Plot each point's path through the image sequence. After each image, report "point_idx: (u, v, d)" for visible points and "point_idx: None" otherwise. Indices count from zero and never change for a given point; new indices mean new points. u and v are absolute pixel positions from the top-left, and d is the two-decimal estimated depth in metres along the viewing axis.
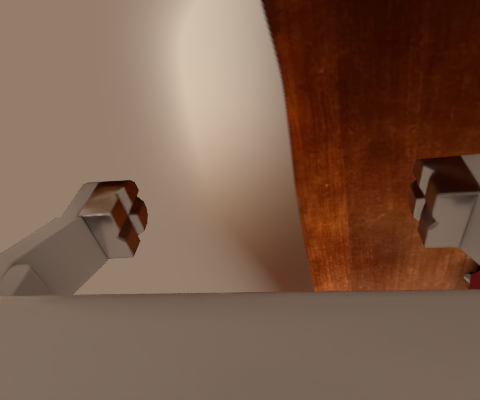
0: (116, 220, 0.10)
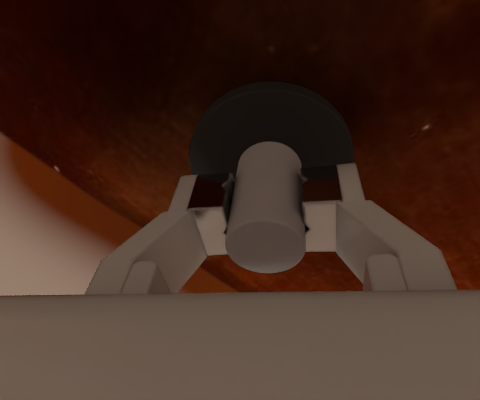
0: (225, 214, 0.09)
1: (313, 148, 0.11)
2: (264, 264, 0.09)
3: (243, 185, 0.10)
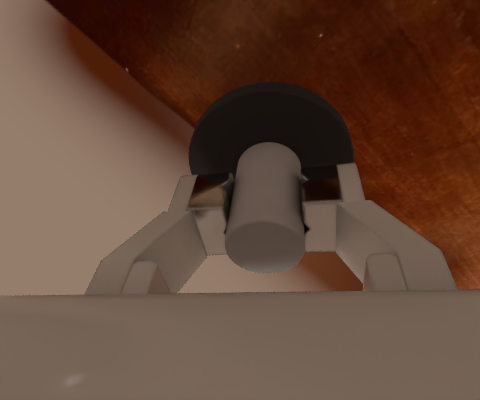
0: (226, 214, 0.09)
1: (312, 149, 0.11)
2: (263, 264, 0.09)
3: (242, 186, 0.10)
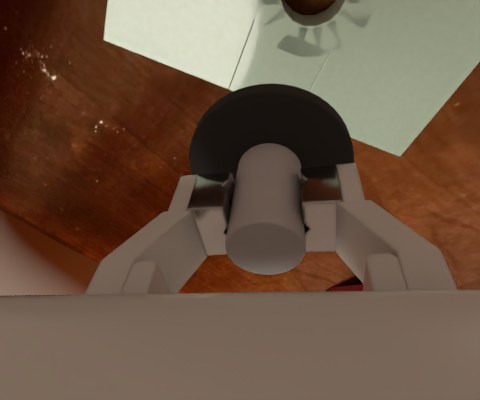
0: (225, 214, 0.09)
1: (313, 150, 0.11)
2: (264, 266, 0.09)
3: (243, 187, 0.10)
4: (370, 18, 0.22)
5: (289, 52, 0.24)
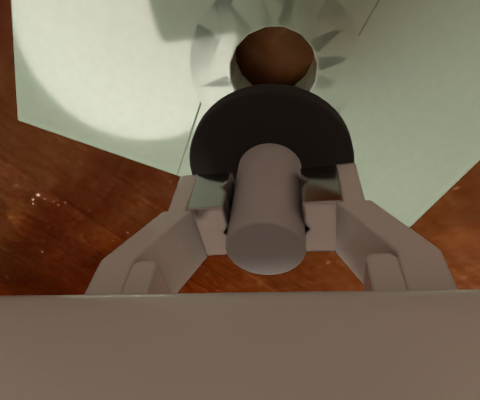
0: (226, 214, 0.09)
1: (313, 150, 0.11)
2: (264, 266, 0.09)
3: (243, 187, 0.10)
4: (346, 105, 0.18)
5: None
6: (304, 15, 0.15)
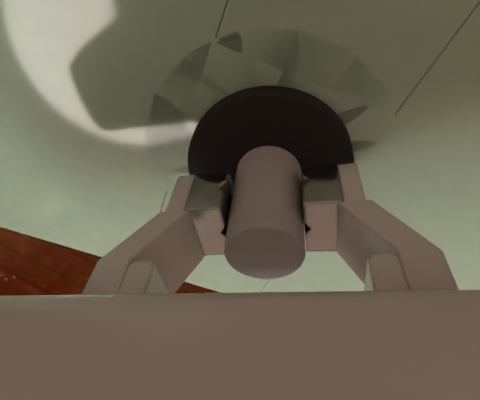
0: (223, 214, 0.09)
1: (312, 152, 0.11)
2: (263, 270, 0.09)
3: (242, 191, 0.09)
4: (372, 199, 0.12)
5: None
6: (315, 85, 0.10)
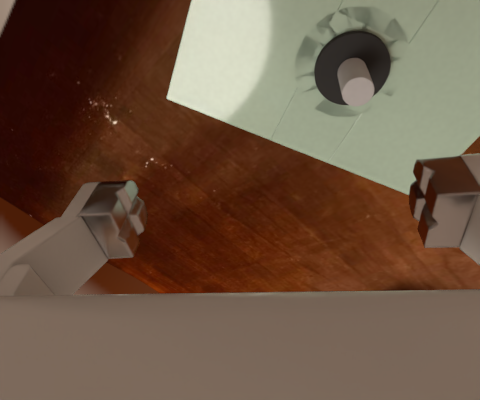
0: (116, 220, 0.10)
1: (373, 61, 0.25)
2: (356, 101, 0.23)
3: (347, 71, 0.24)
4: (397, 89, 0.27)
5: (326, 113, 0.28)
6: (375, 30, 0.24)
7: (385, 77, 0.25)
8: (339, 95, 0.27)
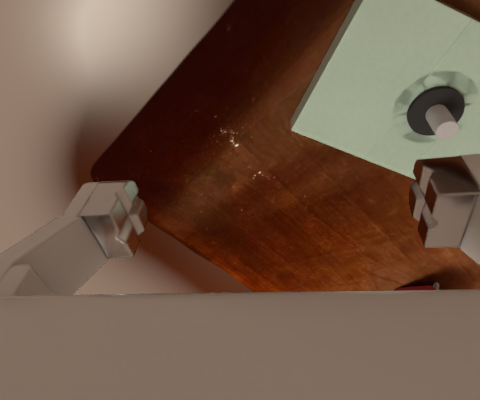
0: (116, 220, 0.10)
1: (452, 106, 0.35)
2: (445, 136, 0.34)
3: (437, 115, 0.34)
4: (465, 124, 0.37)
5: (410, 140, 0.39)
6: (455, 86, 0.35)
7: (459, 117, 0.36)
8: (424, 128, 0.37)
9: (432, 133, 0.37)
